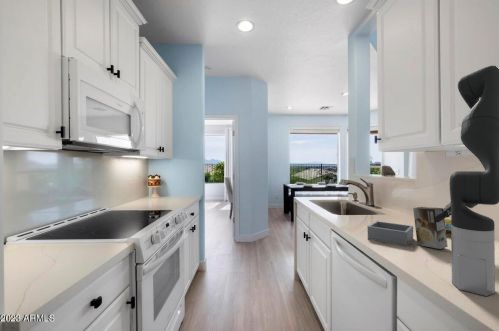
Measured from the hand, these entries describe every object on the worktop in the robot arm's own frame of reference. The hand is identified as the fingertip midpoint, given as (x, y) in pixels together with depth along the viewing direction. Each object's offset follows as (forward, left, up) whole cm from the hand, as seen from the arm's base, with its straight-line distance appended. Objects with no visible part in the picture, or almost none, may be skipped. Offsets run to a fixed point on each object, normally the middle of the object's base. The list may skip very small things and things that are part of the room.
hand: (436, 218), depth 103 cm
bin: (+1, +18, -12) cm, 21 cm away
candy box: (+26, +1, -12) cm, 29 cm away
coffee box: (0, +2, -12) cm, 12 cm away
